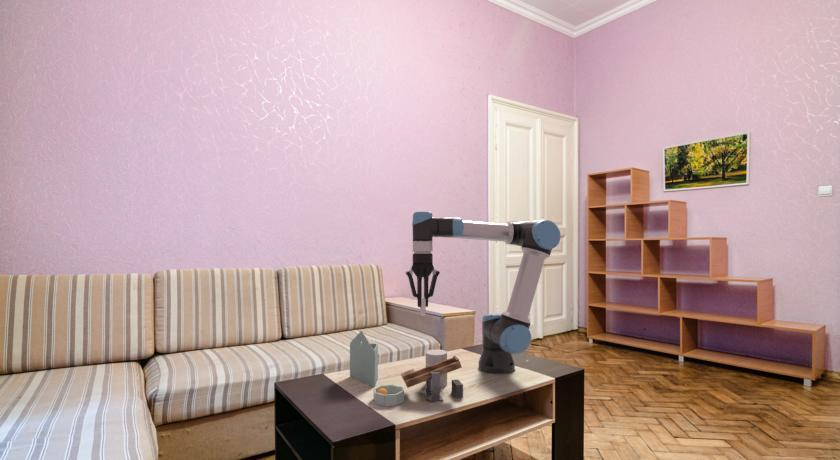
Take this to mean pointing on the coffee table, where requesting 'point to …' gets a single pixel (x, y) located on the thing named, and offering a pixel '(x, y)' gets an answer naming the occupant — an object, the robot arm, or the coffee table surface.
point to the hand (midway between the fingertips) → (422, 315)
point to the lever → (425, 373)
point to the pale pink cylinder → (437, 357)
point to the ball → (382, 391)
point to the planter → (364, 360)
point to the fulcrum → (433, 388)
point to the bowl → (389, 395)
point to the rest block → (457, 388)
